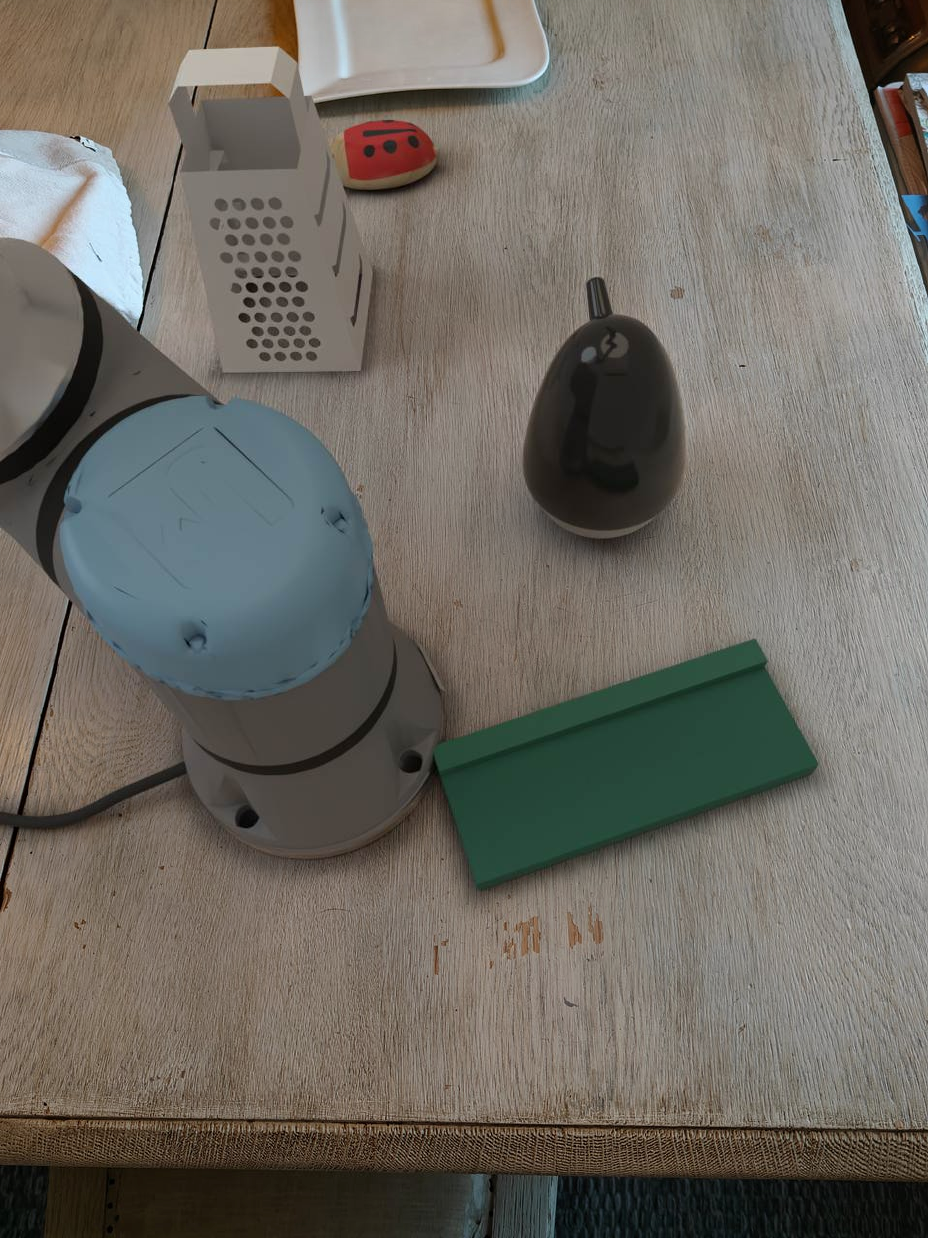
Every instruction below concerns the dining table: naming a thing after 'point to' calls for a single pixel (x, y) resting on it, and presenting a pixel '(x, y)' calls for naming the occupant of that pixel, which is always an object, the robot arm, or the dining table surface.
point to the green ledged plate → (619, 763)
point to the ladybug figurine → (383, 154)
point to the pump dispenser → (606, 427)
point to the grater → (269, 213)
